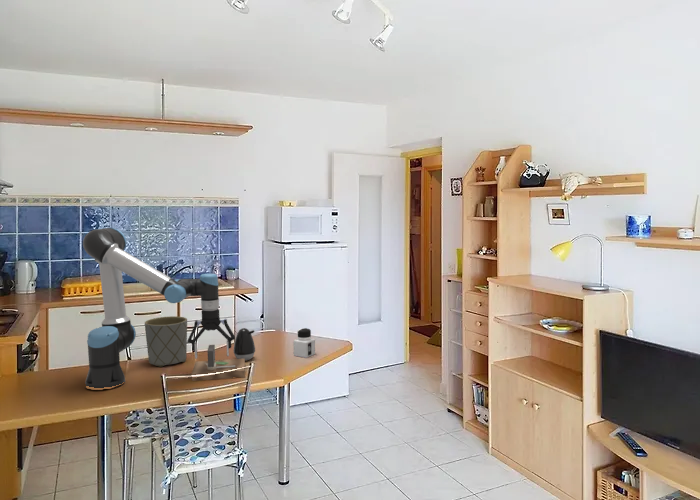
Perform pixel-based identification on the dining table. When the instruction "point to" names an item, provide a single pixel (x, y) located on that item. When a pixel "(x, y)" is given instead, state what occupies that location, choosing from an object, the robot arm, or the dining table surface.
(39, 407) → the dining table surface
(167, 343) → the planter
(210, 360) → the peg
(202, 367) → the tuner board
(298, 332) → the container
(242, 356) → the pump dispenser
